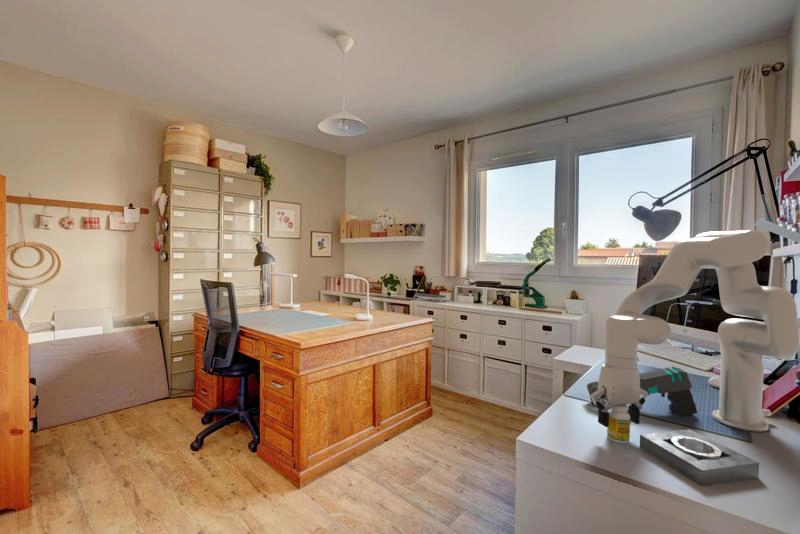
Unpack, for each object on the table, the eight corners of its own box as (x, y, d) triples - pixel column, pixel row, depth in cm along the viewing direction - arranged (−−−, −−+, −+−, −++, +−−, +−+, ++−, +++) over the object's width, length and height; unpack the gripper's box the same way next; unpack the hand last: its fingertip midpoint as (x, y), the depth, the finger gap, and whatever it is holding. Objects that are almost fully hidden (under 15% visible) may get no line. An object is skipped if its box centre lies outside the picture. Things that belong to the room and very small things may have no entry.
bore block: (689, 442, 98) (690, 427, 98) (758, 477, 83) (759, 460, 82) (639, 447, 95) (640, 432, 95) (701, 485, 79) (702, 468, 79)
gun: (702, 413, 113) (686, 366, 114) (603, 431, 119) (589, 387, 120) (690, 405, 119) (675, 361, 120) (596, 423, 126) (583, 381, 126)
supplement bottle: (618, 433, 103) (619, 399, 102) (634, 442, 98) (635, 407, 97) (602, 435, 102) (603, 401, 101) (617, 444, 96) (618, 409, 96)
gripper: (636, 356, 104) (633, 414, 105) (583, 359, 101) (581, 419, 101) (659, 364, 97) (657, 427, 97) (603, 367, 93) (601, 432, 94)
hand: (618, 423), depth 99 cm, fingers open, 9 cm apart
